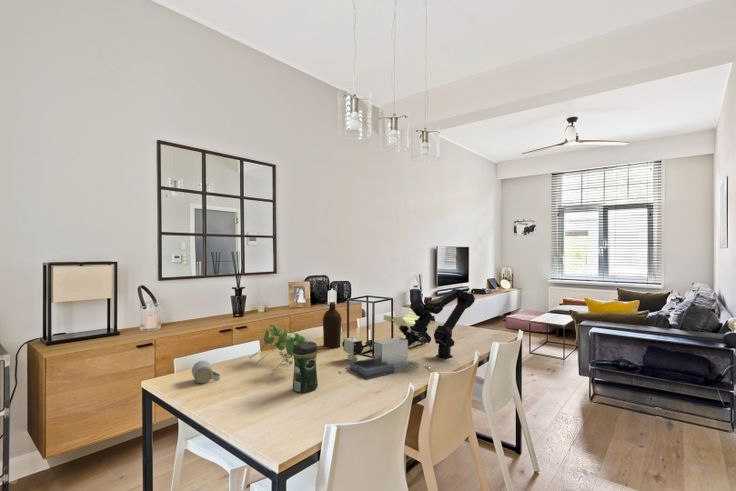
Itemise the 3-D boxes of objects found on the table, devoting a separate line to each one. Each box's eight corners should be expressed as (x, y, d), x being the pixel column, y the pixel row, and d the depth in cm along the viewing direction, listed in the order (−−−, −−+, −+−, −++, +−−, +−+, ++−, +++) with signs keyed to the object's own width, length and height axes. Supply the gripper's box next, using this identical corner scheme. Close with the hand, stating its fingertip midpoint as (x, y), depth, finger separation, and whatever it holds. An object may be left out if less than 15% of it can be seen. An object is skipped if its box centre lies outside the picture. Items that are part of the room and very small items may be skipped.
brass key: (424, 368, 173) (424, 366, 173) (430, 368, 173) (430, 366, 173) (429, 374, 165) (429, 371, 165) (436, 374, 166) (436, 371, 166)
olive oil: (342, 348, 205) (342, 303, 205) (322, 349, 204) (323, 304, 204) (340, 343, 216) (340, 300, 216) (322, 344, 214) (322, 301, 214)
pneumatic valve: (355, 365, 176) (356, 340, 176) (341, 359, 185) (342, 335, 185) (364, 363, 180) (365, 338, 180) (350, 357, 189) (350, 334, 189)
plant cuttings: (290, 394, 158) (325, 355, 170) (268, 368, 151) (306, 329, 163) (256, 372, 185) (288, 340, 196) (236, 349, 178) (270, 317, 189)
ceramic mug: (194, 386, 149) (194, 367, 149) (191, 379, 156) (192, 361, 156) (221, 381, 155) (222, 363, 155) (218, 375, 161) (218, 358, 162)
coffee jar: (309, 383, 153) (309, 338, 153) (320, 388, 148) (321, 342, 148) (288, 389, 146) (289, 342, 146) (300, 395, 141) (300, 346, 141)
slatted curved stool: (406, 351, 201) (406, 318, 201) (383, 346, 211) (383, 315, 211) (434, 341, 224) (434, 311, 224) (412, 336, 234) (412, 308, 234)
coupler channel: (395, 359, 186) (396, 351, 186) (419, 369, 171) (419, 361, 171) (344, 370, 170) (344, 361, 170) (365, 382, 155) (365, 373, 155)
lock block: (400, 361, 180) (400, 337, 180) (408, 364, 175) (408, 339, 175) (374, 366, 172) (374, 341, 172) (381, 370, 167) (382, 344, 167)
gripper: (444, 336, 179) (426, 362, 173) (418, 328, 195) (401, 352, 189) (432, 321, 175) (414, 348, 169) (407, 315, 190) (389, 339, 184)
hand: (405, 347), depth 178 cm, fingers closed
